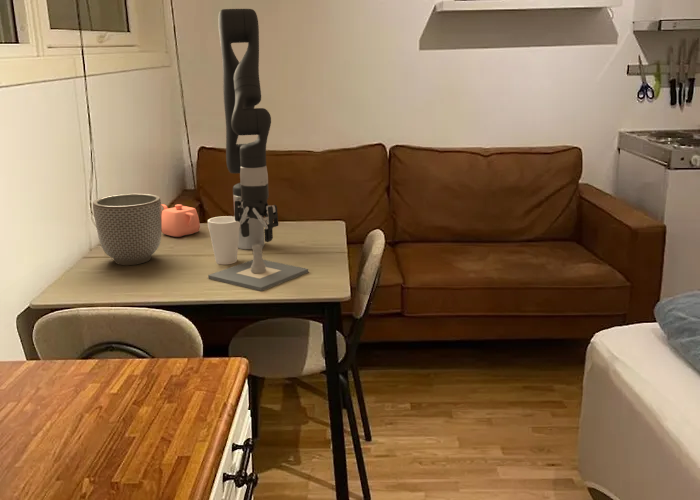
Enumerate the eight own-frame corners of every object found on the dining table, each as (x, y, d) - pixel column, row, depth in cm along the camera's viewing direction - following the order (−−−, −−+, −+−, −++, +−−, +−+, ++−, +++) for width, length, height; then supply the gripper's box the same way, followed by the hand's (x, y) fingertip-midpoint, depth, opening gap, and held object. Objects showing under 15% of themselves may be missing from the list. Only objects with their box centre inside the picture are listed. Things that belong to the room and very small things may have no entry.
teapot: (182, 240, 246) (179, 210, 244) (150, 232, 258) (147, 204, 255) (208, 234, 255) (206, 204, 252) (177, 226, 266) (174, 198, 263)
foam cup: (226, 255, 228) (223, 214, 224) (248, 260, 223) (246, 218, 219) (204, 262, 220) (201, 220, 217) (226, 267, 215) (223, 224, 212)
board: (208, 278, 205) (208, 274, 205) (257, 261, 221) (256, 258, 221) (261, 291, 194) (260, 287, 194) (308, 272, 210) (308, 268, 209)
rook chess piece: (251, 269, 209) (249, 242, 207) (266, 268, 210) (265, 242, 207) (250, 274, 205) (248, 246, 203) (266, 273, 205) (264, 246, 203)
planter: (87, 261, 224) (79, 200, 219) (143, 248, 238) (138, 190, 232) (121, 274, 211) (114, 209, 206) (178, 259, 225) (173, 198, 219)
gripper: (225, 181, 201) (229, 238, 206) (264, 187, 193) (267, 246, 198) (244, 177, 207) (247, 232, 212) (283, 182, 199) (285, 239, 204)
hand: (257, 239), depth 205 cm, fingers open, 8 cm apart
